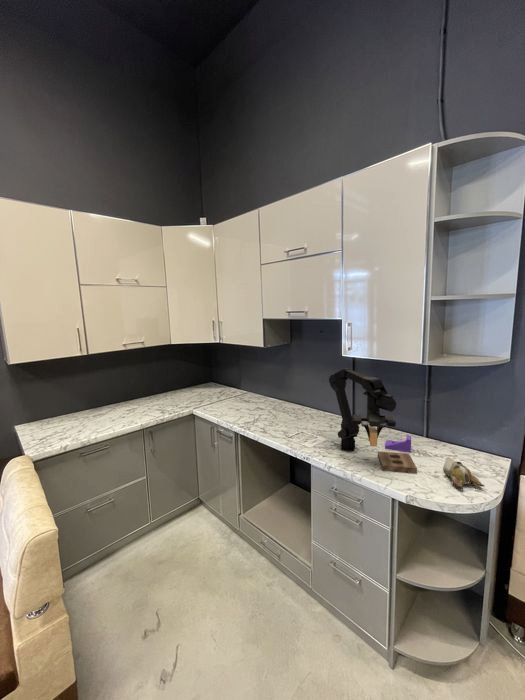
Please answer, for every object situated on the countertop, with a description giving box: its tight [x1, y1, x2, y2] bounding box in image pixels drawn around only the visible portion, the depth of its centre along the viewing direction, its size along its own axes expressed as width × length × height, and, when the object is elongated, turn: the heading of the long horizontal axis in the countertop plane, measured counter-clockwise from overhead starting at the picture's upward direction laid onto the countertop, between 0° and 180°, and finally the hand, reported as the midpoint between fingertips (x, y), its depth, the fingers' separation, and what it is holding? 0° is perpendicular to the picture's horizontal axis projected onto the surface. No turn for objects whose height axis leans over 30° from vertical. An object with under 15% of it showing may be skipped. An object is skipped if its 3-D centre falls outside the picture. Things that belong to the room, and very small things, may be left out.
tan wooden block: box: [368, 425, 378, 447], centre depth 142 cm, size 3×8×6 cm, turn 166°
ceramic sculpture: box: [442, 456, 485, 489], centre depth 125 cm, size 11×9×15 cm
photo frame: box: [284, 430, 328, 449], centre depth 171 cm, size 15×1×18 cm
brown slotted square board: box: [377, 451, 418, 474], centre depth 141 cm, size 14×14×2 cm
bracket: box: [384, 434, 412, 454], centre depth 158 cm, size 12×7×7 cm, turn 66°
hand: (372, 438), depth 142 cm, fingers closed on tan wooden block, 3 cm apart
